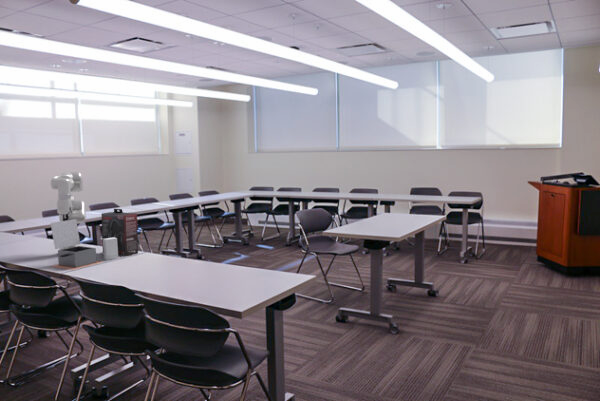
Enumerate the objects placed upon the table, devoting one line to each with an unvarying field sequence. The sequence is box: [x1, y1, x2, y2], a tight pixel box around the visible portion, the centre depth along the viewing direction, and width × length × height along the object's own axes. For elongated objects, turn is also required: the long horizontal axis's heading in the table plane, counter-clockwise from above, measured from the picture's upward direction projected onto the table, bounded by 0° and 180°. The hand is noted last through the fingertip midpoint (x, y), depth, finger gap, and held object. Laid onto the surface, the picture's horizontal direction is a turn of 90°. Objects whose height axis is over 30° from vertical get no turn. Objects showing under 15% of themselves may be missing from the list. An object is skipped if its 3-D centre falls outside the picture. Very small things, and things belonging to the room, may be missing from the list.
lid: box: [50, 219, 81, 250], centre depth 317 cm, size 17×18×3 cm
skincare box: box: [102, 237, 119, 261], centre depth 330 cm, size 8×6×15 cm
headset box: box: [100, 208, 139, 257], centre depth 349 cm, size 24×13×33 cm, turn 62°
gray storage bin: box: [57, 245, 97, 268], centre depth 313 cm, size 16×24×10 cm
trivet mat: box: [50, 260, 103, 271], centre depth 314 cm, size 21×24×1 cm
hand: (65, 223), depth 326 cm, fingers closed
